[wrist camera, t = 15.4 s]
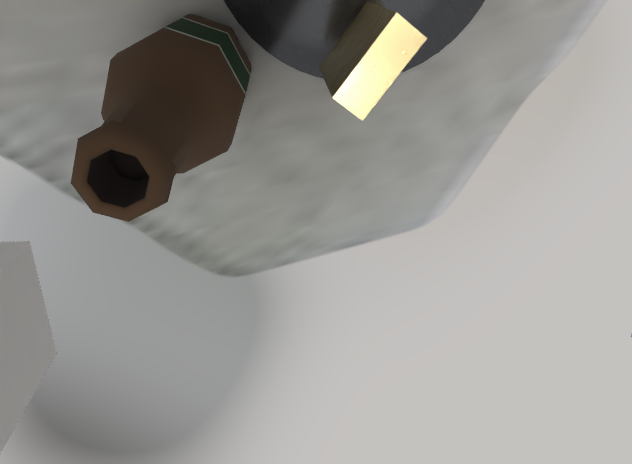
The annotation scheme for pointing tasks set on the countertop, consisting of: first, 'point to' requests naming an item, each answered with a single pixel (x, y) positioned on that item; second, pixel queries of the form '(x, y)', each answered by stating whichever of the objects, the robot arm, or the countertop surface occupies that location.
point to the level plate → (343, 25)
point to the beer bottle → (162, 116)
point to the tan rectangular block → (369, 57)
